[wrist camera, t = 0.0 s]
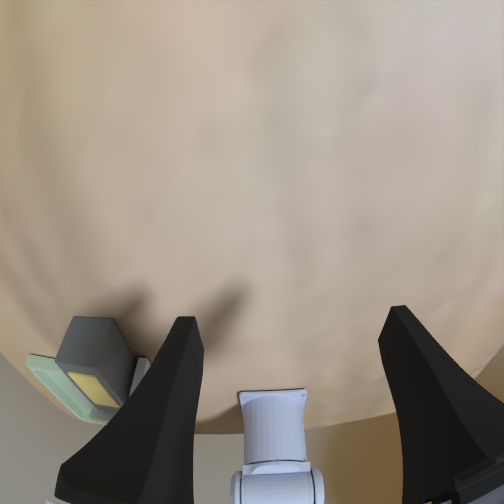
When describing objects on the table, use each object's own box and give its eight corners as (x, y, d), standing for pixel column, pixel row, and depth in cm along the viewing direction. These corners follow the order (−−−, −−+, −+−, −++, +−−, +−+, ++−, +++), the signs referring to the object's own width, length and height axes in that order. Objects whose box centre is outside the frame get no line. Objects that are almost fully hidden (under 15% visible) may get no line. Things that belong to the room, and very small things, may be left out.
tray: (131, 419, 41) (129, 429, 40) (82, 411, 41) (80, 420, 40) (84, 363, 31) (80, 375, 30) (29, 354, 31) (25, 364, 30)
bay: (162, 385, 33) (154, 430, 28) (103, 379, 33) (92, 420, 28) (147, 357, 29) (136, 408, 25) (83, 352, 30) (68, 397, 25)
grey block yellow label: (141, 370, 31) (131, 414, 27) (106, 367, 31) (94, 408, 27) (113, 318, 26) (94, 369, 21) (73, 316, 26) (53, 363, 21)
